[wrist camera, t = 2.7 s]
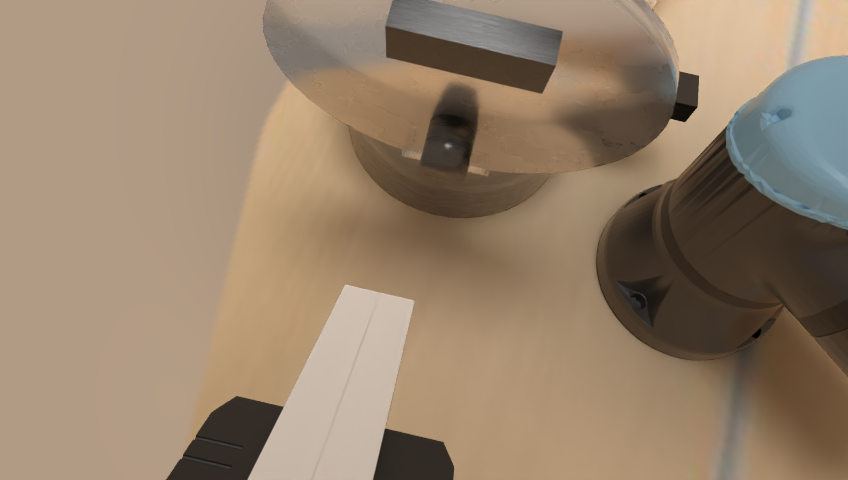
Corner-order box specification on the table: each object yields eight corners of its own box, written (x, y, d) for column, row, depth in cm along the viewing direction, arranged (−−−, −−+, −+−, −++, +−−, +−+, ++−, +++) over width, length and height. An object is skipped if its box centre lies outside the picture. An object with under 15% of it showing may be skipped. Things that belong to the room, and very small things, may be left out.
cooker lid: (782, -14, 22) (770, 97, 21) (593, 182, 42) (582, 242, 41) (219, -145, 22) (179, -42, 21) (305, 114, 43) (288, 172, 42)
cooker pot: (647, 79, 61) (708, -14, 50) (630, 261, 53) (700, 198, 42) (378, 16, 61) (381, -90, 50) (322, 187, 53) (309, 105, 42)
